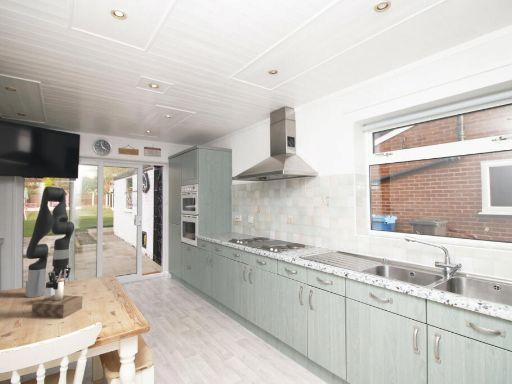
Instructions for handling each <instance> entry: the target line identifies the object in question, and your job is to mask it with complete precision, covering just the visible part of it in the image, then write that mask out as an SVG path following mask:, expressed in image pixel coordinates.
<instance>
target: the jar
mask: <svg viewBox="0 0 512 384" xmlns="http://www.w3.org/2000/svg"><path fill="white" fill-rule="evenodd" d="M52 295H55V290H54V289H53V282H50V280H49V281H47V282H45V292H44V296H43V299H44V298H47V297H49V296H52Z"/></svg>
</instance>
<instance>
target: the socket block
mask: <svg viewBox="0 0 512 384" xmlns="http://www.w3.org/2000/svg"><path fill="white" fill-rule="evenodd" d="M83 298H84V297H83V296H81V295H65V294H63V300H61V301H54V295H52V296H49V297H47V298H44V297H43V298H42V299H39V300H37V301H34V302H32V305H31V317H32V318H33V317H34V318H35V317H36V318H38V317H39V318H48V319H49V318H50V319H52V318H53V319H64V318H66V317H69V316H71V315H72V314H74V313H77V312H78V311H80V310H82V308H83Z"/></svg>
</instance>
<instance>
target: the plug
mask: <svg viewBox="0 0 512 384" xmlns="http://www.w3.org/2000/svg"><path fill="white" fill-rule="evenodd" d="M64 287H65V285H64V278H59V281H58V289H56V290H55V295H54V301H61V300H63V295H64Z"/></svg>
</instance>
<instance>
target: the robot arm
mask: <svg viewBox="0 0 512 384" xmlns="http://www.w3.org/2000/svg"><path fill="white" fill-rule="evenodd" d="M66 194H67V193H66V190H65V189H64V188H62V187H54V186H45V187H44V189H43V191H42V195H41V200H40V205H39V209H38V213H37V216H36V220H35V223H34V226H33V231H32V235H31V238H30V240H29V242H28V245H27V248H26V252H25V255H26V258H27V259H28V260H35V259H38V260H36V261H35V262H33V263H31V264H29V265H28V267H27V268H28V270H27V271H28V273H27V280H26V282H25V290H24V291H25V292H24V297H26V298H36V297H41V296H43V295H44V294H45V287H46V279H47V277H46V275H47V264H48V258H49V245H48V244H47V243H40V241H41V240H42V239H43V238H44V237H45V236H46V235H48V234H49V233H50V232H51V233H52V234H54V235H55V236H56V235H57V236H58V235H64V236H63V237H61V238H57V239H55V240H54V243H53V244H54V246H53V252H52V262H51V263H52V264H51V265H52V266H51V267H53V269H52V271H49V272H48V279H49V281H50V282H53V289H54V290H56V289H58V281H59V278H64V286H65V285H66V283H65V282H66V280H67V279H68V278H69V276H70V272H71V269H72V267H70V266H69V263H70V241H71V238H72V235H73V233H74V231H75V224H74V223H73V222H72V221H69V216H68V211H67V200H66V199H67V196H66ZM49 202H53V203H57V204H56V206H54V207H53V209H52V211H51V209H50V208H49V204H48V203H49ZM68 266H69V267H68Z"/></svg>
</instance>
